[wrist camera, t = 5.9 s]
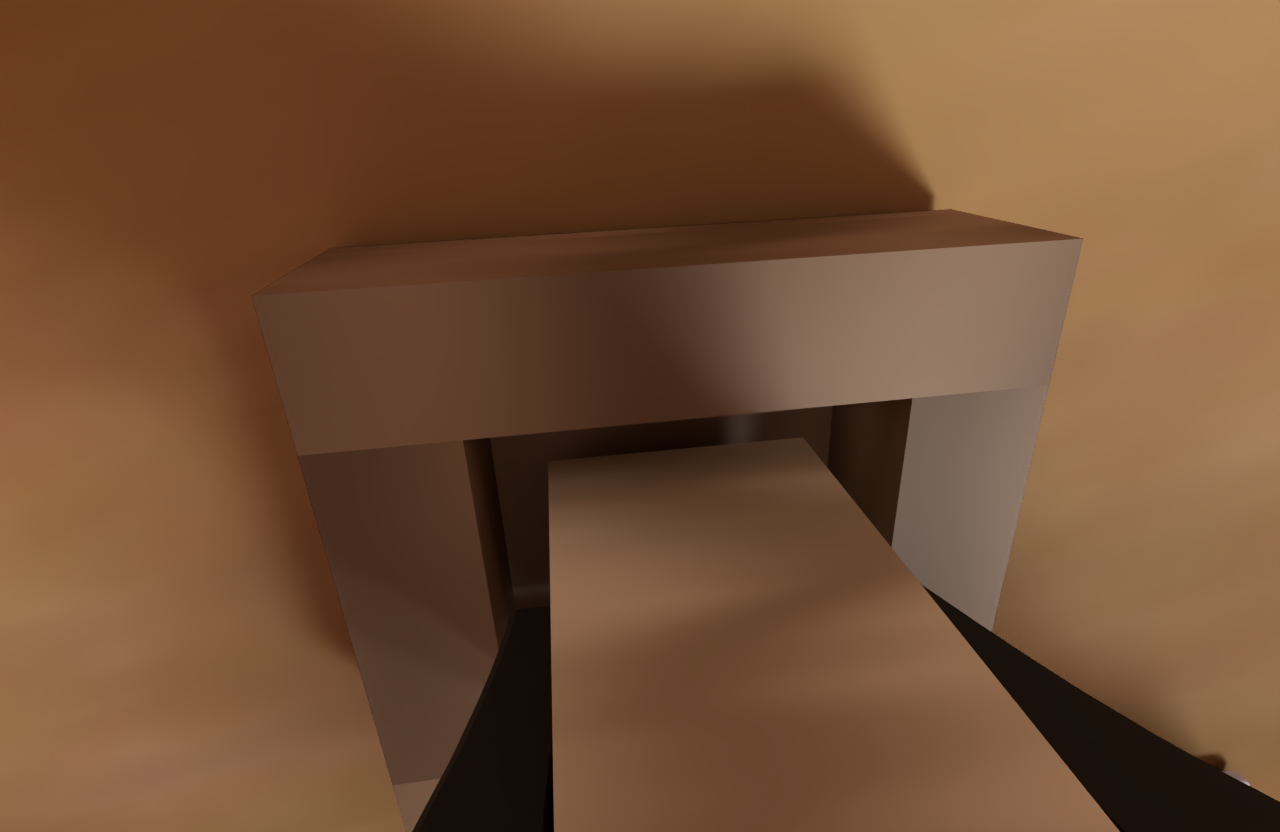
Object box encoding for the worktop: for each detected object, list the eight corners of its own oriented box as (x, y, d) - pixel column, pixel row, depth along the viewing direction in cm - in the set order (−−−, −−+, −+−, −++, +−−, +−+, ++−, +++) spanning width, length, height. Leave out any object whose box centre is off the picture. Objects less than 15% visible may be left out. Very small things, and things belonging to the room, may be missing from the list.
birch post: (802, 437, 10) (1200, 932, 4) (787, 631, 12) (1055, 1197, 6) (548, 460, 10) (557, 1054, 4) (569, 659, 12) (600, 1301, 5)
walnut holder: (950, 209, 11) (1084, 238, 8) (883, 660, 15) (957, 778, 12) (330, 248, 10) (251, 295, 7) (440, 720, 14) (415, 863, 11)
